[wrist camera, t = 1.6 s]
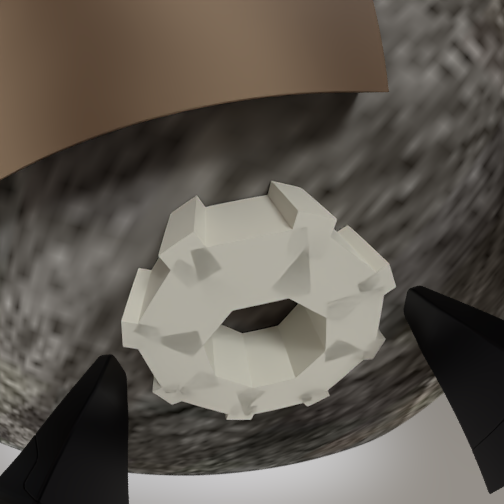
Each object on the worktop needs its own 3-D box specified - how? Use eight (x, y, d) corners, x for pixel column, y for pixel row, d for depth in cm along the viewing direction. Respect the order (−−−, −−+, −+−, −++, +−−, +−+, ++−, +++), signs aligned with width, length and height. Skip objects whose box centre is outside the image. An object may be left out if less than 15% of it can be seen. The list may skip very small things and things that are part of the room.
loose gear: (356, 168, 8) (405, 192, 6) (349, 342, 12) (373, 385, 9) (109, 217, 8) (78, 259, 5) (180, 379, 11) (180, 429, 9)
